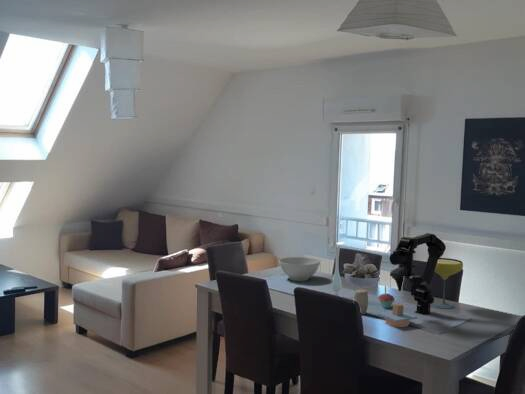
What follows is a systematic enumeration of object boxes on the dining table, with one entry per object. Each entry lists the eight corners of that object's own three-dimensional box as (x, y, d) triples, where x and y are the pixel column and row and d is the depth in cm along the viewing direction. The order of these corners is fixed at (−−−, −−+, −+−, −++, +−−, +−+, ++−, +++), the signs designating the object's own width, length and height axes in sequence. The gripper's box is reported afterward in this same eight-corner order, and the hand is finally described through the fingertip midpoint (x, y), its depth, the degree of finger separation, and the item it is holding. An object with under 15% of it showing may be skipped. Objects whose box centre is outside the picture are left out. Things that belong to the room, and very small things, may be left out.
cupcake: (390, 309, 293) (391, 287, 292) (375, 307, 297) (376, 285, 296) (396, 306, 300) (396, 284, 299) (381, 303, 305) (381, 282, 304)
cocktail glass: (468, 307, 299) (469, 262, 297) (447, 312, 289) (449, 265, 287) (440, 299, 314) (441, 256, 312) (419, 304, 304) (421, 259, 302)
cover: (399, 311, 276) (399, 299, 276) (417, 318, 265) (417, 306, 264) (378, 314, 270) (378, 302, 270) (396, 321, 259) (396, 309, 258)
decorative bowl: (270, 279, 359) (271, 261, 358) (292, 272, 380) (292, 255, 380) (306, 285, 343) (306, 266, 342) (326, 278, 365) (327, 260, 364)
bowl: (398, 319, 275) (399, 312, 275) (414, 326, 265) (414, 318, 265) (381, 322, 270) (381, 314, 270) (396, 329, 261) (396, 320, 260)
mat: (434, 321, 273) (434, 320, 273) (457, 330, 259) (457, 329, 259) (410, 325, 266) (410, 324, 266) (433, 335, 253) (433, 334, 253)
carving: (367, 315, 282) (368, 292, 281) (352, 314, 284) (353, 291, 283) (367, 311, 289) (368, 289, 288) (353, 310, 290) (353, 288, 289)
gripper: (382, 260, 280) (381, 290, 281) (407, 267, 263) (406, 299, 265) (399, 258, 285) (398, 288, 286) (424, 265, 268) (423, 297, 270)
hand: (405, 293), depth 277 cm, fingers open, 9 cm apart
